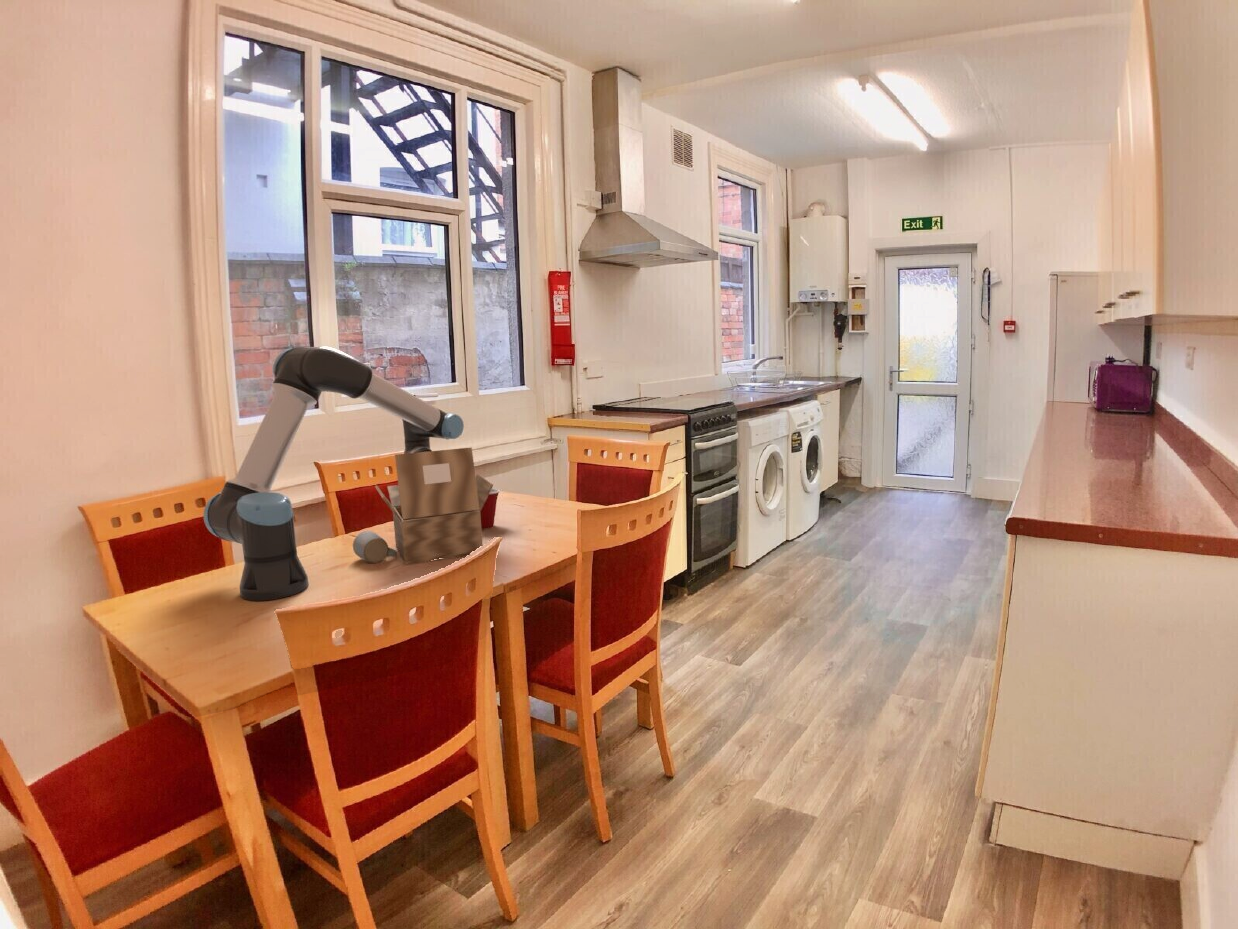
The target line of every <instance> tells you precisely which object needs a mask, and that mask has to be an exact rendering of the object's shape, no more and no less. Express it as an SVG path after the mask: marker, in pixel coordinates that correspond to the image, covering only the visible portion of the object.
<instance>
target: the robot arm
mask: <svg viewBox="0 0 1238 929" xmlns="http://www.w3.org/2000/svg"><path fill="white" fill-rule="evenodd" d="M272 373H273V375H274V376H273V378H274V380H273V383H272V384H271V386H272V389H273V391H274V395H273V398H272V399H271V402H270V404H269V405H268V408H267V410H266V413H265V414H264V416H263V419H262V421H261V422H260V425H259V427H258V429H257V432H256V433H255V436H254V437H253V440H252V442H251V444H250V446H249V449H248V451H247V453H246V455H245V456H244V459H243V461H242V463H241V466H240V468H239V470H238V471H237V474H236V476H235V477H233V478H230V479H228V480H226V481H225V483H224V486H223V488H222V489H221V492H219V493H217V494H215V495H213V496H212V497H210V498H209V500H208V501H207V502H206V504H205V506H204V509H203V521H204V525H205V527H206V528H207V531H209V532H210V533H211V534H212V535H214V536H215V537H216V538H219V539H220V540H223V541H227V542H234V543H237V544H241V547H242V553H243V561H244V564H243V569H242V574H241V578H240V583H239V594H240V598H241V599H244V600H247V601H254V602H255V601H257V602H259V601H270V600H277V599H282V598H287V597H290V596H294V595H296V594H299V593H300V592H302V591H305V589H307V588H308V587H309V577H308V574H307V572H306V570H305V568H304V566H303V564H302V562H301V560H300V558H299V556H298V551H297V550H298V549H297V541H296V532H295V530H296V529H295V522H294V510H293V507H292V502H291V499H290V498H289V497H288V496H287V495H285V494H283V493H279V492H272V491H271V489H272V486H273V484H274V483H275V481H276V478H277V476H278V474H279V472H280V470H281V467H282V465H283V463H284V461H285V458H286V456H287V454H288V452H289V449H290V448H291V445H292V444H293V440H294V439H295V437H296V435H297V432H298V429H299V428H300V425H301V424H302V421H303V419H304V417H305V414H306V412H307V410H308V408H309V407H312V406H314V405H316V404H317V403H318V401H319V399H320V396H321V394H322V392H325V393H326V392H329V393H336V394H341V395H344V396H347V397H349V398H351V399H353V400H355V399H356V400H357V399H358V398H359V399H361V400H362V401H363V400H364V401H365V402H367V403H369V404H371V405H373V406H375V407H376V408H377V407H378V408H379V409H381V410H383V411H386V412H388V413H389V414H391V415H393V416H395V417H398V418H399V419H401V420H402V426H403V428H402V429H403V435H404V436H403V437H404V450H403V454H407V453H418V452H428V451H433V450H432V449H431V442H430V440H431V439H430V438H434V439H435V438H436V439H445V440H455V439H456V440H457V439H458V438H459V437H460V436H462V434H463V431H464V428H465V426H464V421H463V418H462V417H461V416H460V415H458V414H455V413H452V412H445V411H443V410H442V409H439V407H438V408H437V407H435V406H434V405H432V404H430V403H428V402H426V401H425V400H423V399H421V398H419V397H418V396H415V395H414V394H412V393H410V392H408V391H407V390H404V389H403V388H401V387H399V386H398V385H396V384H394V383H392V382H390V381H388V380H387V379H384V378H383V377H381V376H380V375H378V374H375V373H374V372H373V369H372V367H371V366H369V365H367V364H366V363H364V362H362V361H360V360H358V359H356V358H355V357H353V356H351V355H349V354H347V353H345V352H343V351H342V350H339V349H336V348H333V347H330V346H294V347H291V348H288V349H284V350H283V351H281V352H280V354H278V355H277V357H276V358H275V361H274V362H273V367H272Z"/></svg>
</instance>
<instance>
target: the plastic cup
mask: <svg viewBox="0 0 1238 929" xmlns="http://www.w3.org/2000/svg"><path fill="white" fill-rule="evenodd" d="M500 492H501V490H500V489H497V488H492V489H491V491H490V493H489V495H488V497H487V499H486V501H485V503H484V505H483V508H482V510H481V511H480V515H481V529H482V530H486V529H491V528H493V527H494V525H495V516H496V510H497V501H498V497H499V493H500Z"/></svg>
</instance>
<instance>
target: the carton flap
mask: <svg viewBox="0 0 1238 929" xmlns="http://www.w3.org/2000/svg"><path fill="white" fill-rule="evenodd" d="M394 458H395V470H396V475H397V484H398V486H399V494H400V503H401V511H402V519H410V518H418V517H426V516H434V515H441V514H449V513H457V512H465V511H472V510H480V509H479V501H478V493H477V485H476V471H475V463H474V454H473V447H461V448H452V449H451V448H449V449H442V450H441V449H439V450H432V451H428V452H418V453H407V454H404V453H398V454H394Z"/></svg>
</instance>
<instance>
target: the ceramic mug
mask: <svg viewBox="0 0 1238 929" xmlns="http://www.w3.org/2000/svg"><path fill="white" fill-rule="evenodd" d="M352 549H353V553H354V554H355V555H356V556H357V557H358V558H360V559H361V560H364V561H366V562H367V563H369V564H377V563H381V562H383V561H384V560H385V559H386V558H387V557H391V558H396V557H397V556H398V554H399V552H398V551H397V549H394V548H392V547H389V545H388V543H387V541H386V540H385V539H384V538H383V537H382V536H380V535H378V533H375V532H374V531H371V530H366V531H362V532H360V533H358V534H357V535H356V536H355V538H354V540H353V543H352Z"/></svg>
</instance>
